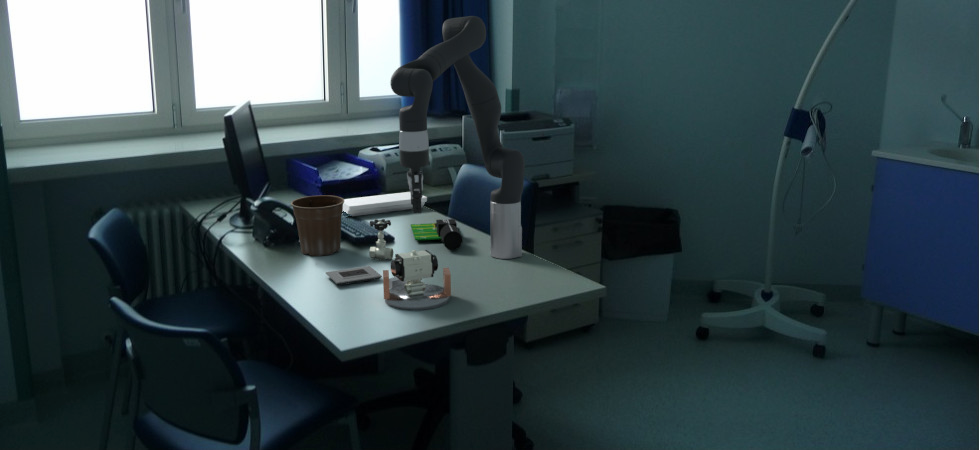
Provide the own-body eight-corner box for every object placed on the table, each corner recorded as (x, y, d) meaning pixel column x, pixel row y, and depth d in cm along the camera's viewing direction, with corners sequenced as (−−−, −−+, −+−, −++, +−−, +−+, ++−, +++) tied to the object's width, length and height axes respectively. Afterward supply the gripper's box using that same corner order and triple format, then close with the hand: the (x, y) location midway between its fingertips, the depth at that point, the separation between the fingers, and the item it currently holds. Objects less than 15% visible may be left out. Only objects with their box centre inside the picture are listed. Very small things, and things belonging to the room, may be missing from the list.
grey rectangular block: (401, 284, 250) (401, 275, 249) (407, 286, 248) (406, 277, 248) (387, 287, 247) (386, 279, 246) (392, 290, 245) (392, 281, 244)
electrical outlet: (336, 289, 246) (336, 281, 245) (325, 279, 255) (325, 271, 254) (382, 282, 252) (381, 274, 251) (369, 272, 261) (369, 264, 260)
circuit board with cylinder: (410, 209, 304) (454, 207, 307) (410, 229, 306) (454, 227, 308) (418, 232, 276) (466, 230, 278) (418, 254, 278) (466, 251, 280)
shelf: (339, 213, 328) (338, 199, 326) (414, 204, 341) (414, 191, 340) (349, 220, 318) (349, 206, 316) (427, 211, 331) (426, 197, 330)
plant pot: (300, 261, 270) (297, 209, 266) (288, 247, 285) (285, 198, 280) (352, 254, 277) (350, 204, 273) (339, 241, 291) (336, 193, 287)
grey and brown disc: (447, 287, 246) (447, 261, 244) (452, 308, 230) (452, 281, 228) (383, 290, 244) (382, 264, 242) (384, 312, 228) (383, 284, 226)
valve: (388, 263, 268) (387, 225, 265) (367, 262, 269) (366, 223, 266) (395, 257, 274) (394, 219, 271) (374, 256, 275) (373, 218, 272)
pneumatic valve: (391, 294, 237) (389, 250, 233) (432, 287, 241) (431, 245, 238) (398, 300, 232) (396, 256, 229) (440, 294, 237) (439, 250, 233)
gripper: (430, 151, 223) (432, 214, 227) (426, 141, 236) (428, 201, 241) (400, 153, 222) (403, 216, 226) (398, 142, 235) (400, 202, 240)
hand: (416, 208), depth 233 cm, fingers open, 8 cm apart
